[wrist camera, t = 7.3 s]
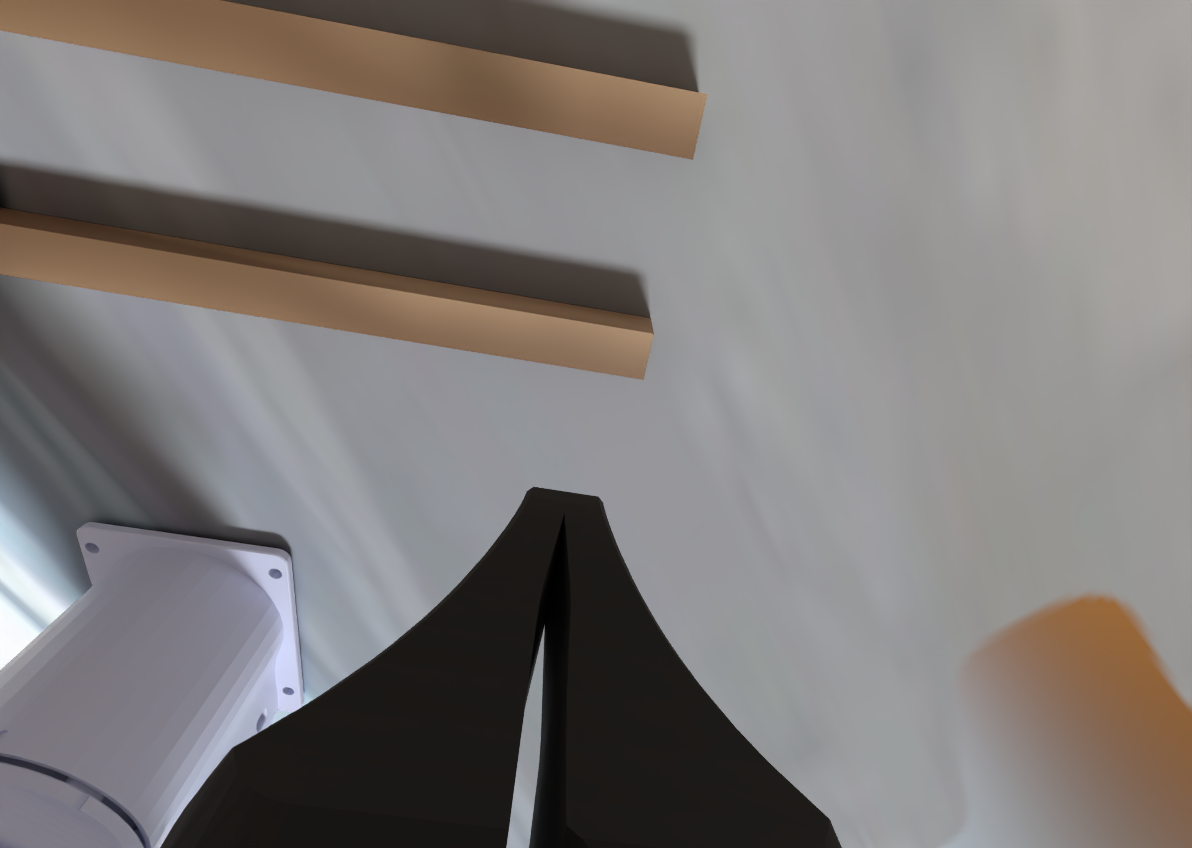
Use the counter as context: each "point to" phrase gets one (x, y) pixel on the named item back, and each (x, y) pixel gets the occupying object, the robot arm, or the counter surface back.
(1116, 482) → the counter surface
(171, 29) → the guide channel
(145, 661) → the robot arm
